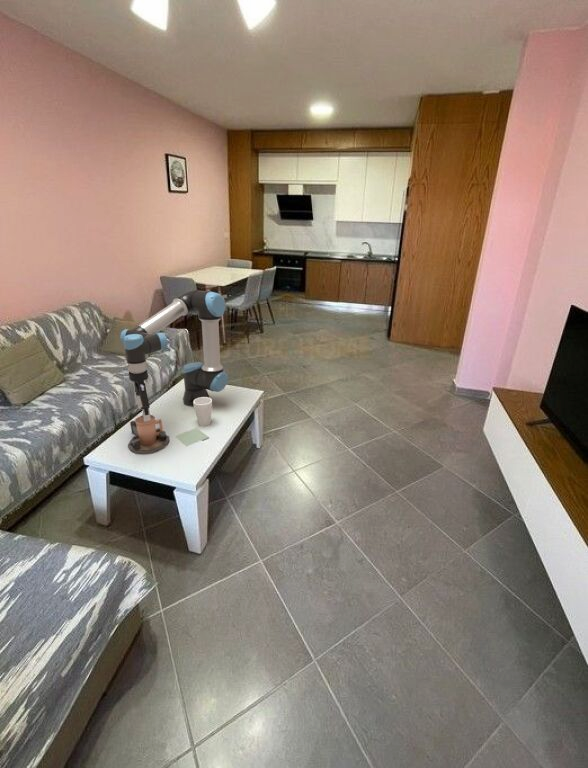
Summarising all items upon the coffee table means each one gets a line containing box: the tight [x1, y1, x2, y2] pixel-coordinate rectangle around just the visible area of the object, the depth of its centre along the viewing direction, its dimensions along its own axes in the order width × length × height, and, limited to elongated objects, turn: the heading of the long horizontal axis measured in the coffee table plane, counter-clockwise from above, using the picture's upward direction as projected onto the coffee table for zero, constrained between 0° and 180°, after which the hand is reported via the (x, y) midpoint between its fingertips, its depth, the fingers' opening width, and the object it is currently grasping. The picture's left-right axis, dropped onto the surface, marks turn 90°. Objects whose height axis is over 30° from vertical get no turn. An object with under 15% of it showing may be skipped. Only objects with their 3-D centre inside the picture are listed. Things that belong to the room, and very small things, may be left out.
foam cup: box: [193, 397, 213, 427], centre depth 188 cm, size 10×9×13 cm
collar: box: [127, 420, 170, 454], centre depth 171 cm, size 24×17×6 cm
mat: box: [174, 427, 210, 447], centre depth 177 cm, size 12×12×1 cm
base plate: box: [128, 437, 170, 456], centre depth 171 cm, size 18×18×1 cm
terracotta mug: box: [134, 414, 164, 446], centre depth 170 cm, size 9×11×12 cm
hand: (144, 414), depth 164 cm, fingers open, 13 cm apart
